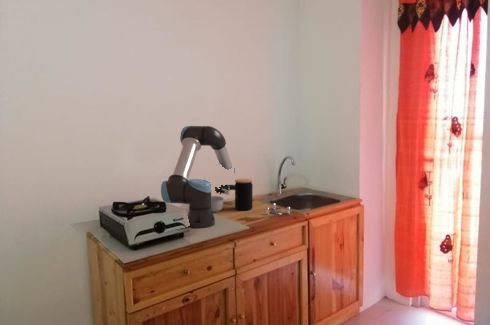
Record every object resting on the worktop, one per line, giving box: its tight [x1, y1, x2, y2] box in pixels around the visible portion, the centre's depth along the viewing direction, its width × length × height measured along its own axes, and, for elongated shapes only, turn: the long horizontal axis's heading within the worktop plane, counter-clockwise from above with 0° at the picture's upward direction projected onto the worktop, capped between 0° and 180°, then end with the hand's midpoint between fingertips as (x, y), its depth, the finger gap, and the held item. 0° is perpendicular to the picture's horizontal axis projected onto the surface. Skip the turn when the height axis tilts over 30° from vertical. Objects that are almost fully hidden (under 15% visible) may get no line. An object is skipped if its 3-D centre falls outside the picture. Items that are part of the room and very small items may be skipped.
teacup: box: [211, 195, 224, 213], centre depth 228 cm, size 14×11×8 cm
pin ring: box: [265, 202, 291, 216], centre depth 222 cm, size 12×14×4 cm
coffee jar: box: [234, 178, 254, 212], centre depth 232 cm, size 11×11×18 cm
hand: (237, 191), depth 237 cm, fingers open, 13 cm apart
